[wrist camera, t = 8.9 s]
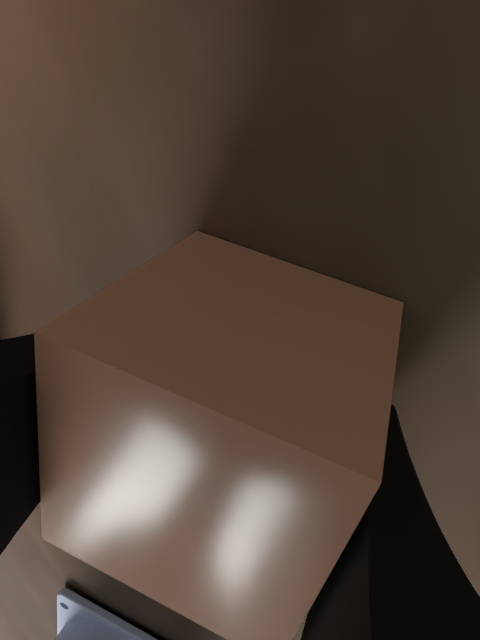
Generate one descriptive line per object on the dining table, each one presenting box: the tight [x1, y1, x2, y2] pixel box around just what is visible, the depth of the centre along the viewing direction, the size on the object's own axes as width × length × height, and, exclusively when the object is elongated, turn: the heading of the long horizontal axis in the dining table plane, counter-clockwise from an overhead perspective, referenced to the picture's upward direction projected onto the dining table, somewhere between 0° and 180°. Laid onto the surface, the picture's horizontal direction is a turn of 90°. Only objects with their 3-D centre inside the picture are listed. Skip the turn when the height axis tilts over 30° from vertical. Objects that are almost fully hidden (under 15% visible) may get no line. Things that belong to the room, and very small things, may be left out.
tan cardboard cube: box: [34, 231, 404, 640], centre depth 11 cm, size 6×6×6 cm
